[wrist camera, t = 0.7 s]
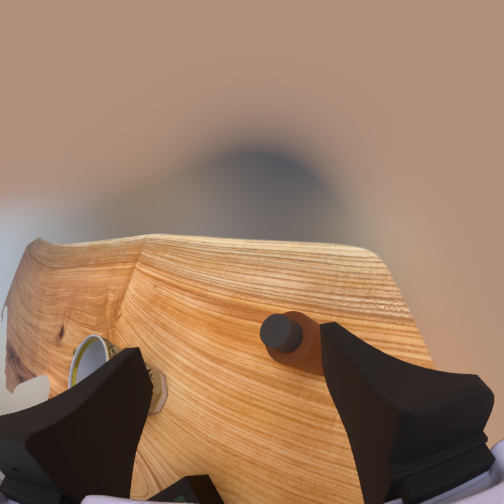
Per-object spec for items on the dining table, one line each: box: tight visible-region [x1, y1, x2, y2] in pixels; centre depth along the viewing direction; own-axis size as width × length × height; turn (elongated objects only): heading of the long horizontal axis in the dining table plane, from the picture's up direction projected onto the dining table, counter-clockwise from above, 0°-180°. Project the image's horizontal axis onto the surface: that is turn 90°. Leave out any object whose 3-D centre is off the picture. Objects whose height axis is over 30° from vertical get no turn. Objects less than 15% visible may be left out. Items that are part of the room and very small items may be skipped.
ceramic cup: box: [68, 334, 167, 416], centre depth 35 cm, size 13×10×10 cm
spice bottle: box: [260, 311, 324, 376], centre depth 24 cm, size 4×4×9 cm
